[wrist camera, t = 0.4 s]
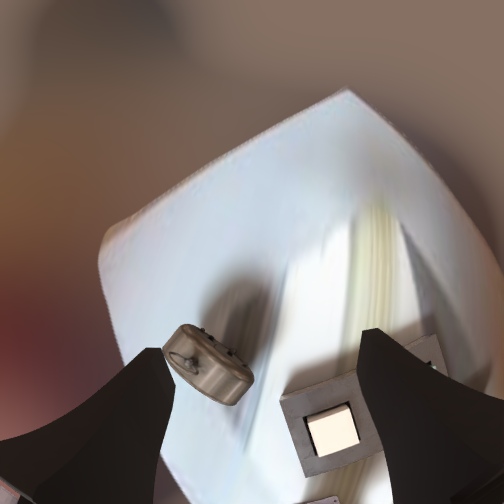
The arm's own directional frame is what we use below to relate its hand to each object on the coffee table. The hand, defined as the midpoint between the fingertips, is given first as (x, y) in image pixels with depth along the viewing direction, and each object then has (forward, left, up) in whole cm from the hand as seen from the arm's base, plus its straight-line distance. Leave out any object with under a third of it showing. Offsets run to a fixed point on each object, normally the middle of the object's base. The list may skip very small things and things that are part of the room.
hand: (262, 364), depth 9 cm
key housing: (-11, -8, -28) cm, 31 cm away
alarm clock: (+2, +9, -28) cm, 30 cm away
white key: (-11, -2, -26) cm, 29 cm away
